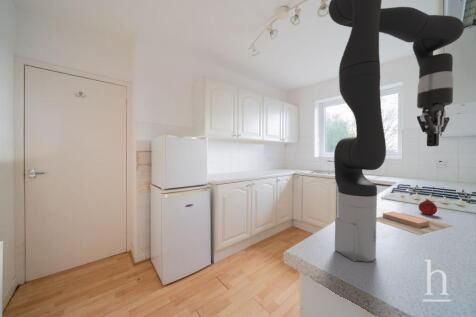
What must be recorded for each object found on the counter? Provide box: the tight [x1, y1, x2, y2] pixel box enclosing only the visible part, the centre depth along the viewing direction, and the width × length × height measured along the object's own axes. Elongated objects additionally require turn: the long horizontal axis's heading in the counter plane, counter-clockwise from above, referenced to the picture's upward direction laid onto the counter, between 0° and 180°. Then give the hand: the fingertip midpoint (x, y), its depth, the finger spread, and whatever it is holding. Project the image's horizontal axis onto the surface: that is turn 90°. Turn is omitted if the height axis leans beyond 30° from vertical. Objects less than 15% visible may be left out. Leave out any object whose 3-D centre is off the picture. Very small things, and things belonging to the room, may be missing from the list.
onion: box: [418, 198, 438, 216], centre depth 81 cm, size 6×6×8 cm
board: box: [376, 212, 453, 236], centre depth 72 cm, size 22×16×1 cm
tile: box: [382, 211, 429, 228], centre depth 73 cm, size 7×2×12 cm
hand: (432, 146), depth 56 cm, fingers closed
